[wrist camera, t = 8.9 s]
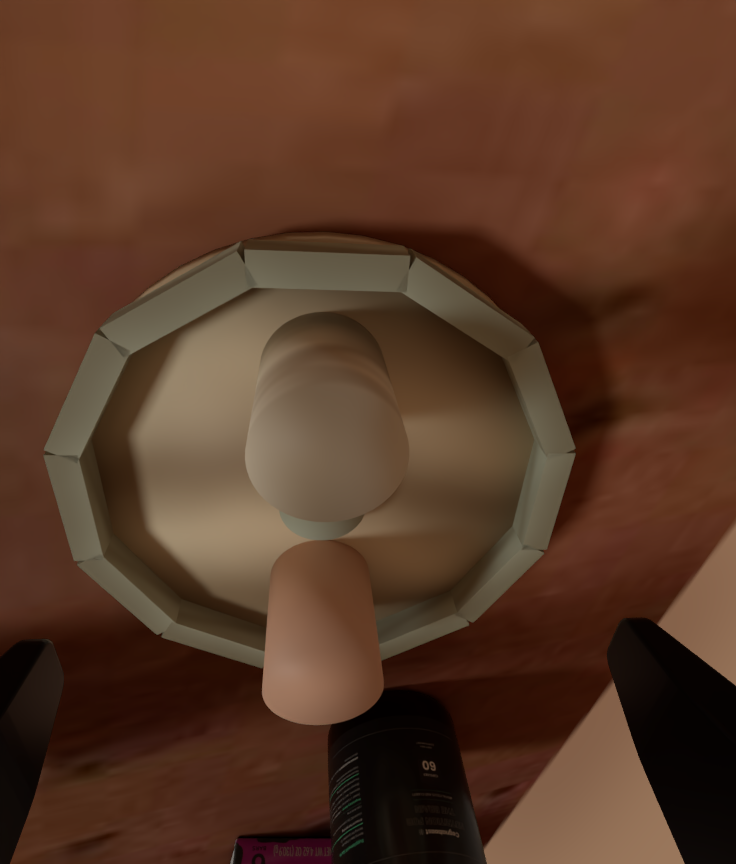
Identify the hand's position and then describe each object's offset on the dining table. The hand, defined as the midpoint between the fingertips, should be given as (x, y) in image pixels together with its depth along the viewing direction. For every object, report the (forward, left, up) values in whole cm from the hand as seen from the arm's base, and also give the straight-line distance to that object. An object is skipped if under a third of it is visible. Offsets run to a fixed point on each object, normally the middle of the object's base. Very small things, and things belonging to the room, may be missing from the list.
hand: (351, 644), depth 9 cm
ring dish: (-5, 0, -11) cm, 12 cm away
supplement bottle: (-22, -4, -12) cm, 25 cm away
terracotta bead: (-9, 0, -10) cm, 14 cm away
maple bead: (0, 0, -10) cm, 10 cm away
